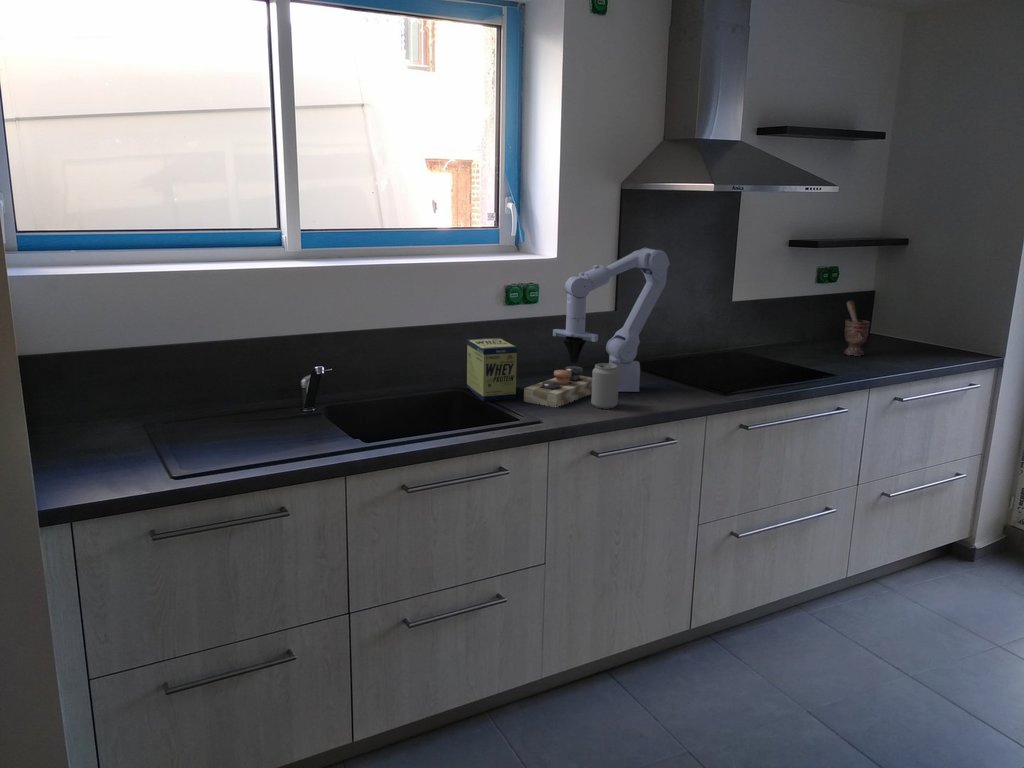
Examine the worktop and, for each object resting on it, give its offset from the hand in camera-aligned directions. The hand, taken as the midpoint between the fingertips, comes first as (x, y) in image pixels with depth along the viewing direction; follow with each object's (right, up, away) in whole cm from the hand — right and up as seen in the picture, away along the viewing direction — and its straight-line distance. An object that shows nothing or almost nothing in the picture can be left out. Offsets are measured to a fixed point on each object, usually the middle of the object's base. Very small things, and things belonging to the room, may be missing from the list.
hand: (574, 362), depth 248 cm
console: (-4, -10, -3) cm, 11 cm away
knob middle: (-4, -7, -4) cm, 9 cm away
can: (+8, -13, -13) cm, 20 cm away
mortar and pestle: (+111, +5, +68) cm, 130 cm away
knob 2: (0, -6, +2) cm, 6 cm away
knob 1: (-8, -11, -8) cm, 15 cm away
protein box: (-25, -10, -1) cm, 27 cm away
